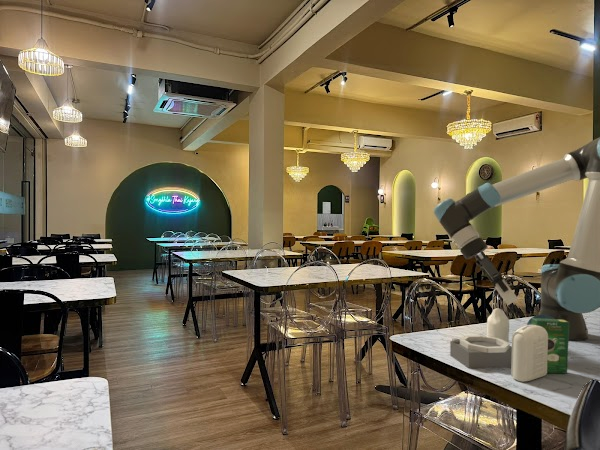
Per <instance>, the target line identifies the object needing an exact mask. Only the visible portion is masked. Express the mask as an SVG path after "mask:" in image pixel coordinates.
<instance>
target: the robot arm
mask: <svg viewBox="0 0 600 450" xmlns="http://www.w3.org/2000/svg"><path fill="white" fill-rule="evenodd" d="M585 179H588V184H587V187H586V191H585V194H584V199H583V202H582V205H581V208H580V211H579V215H578V219H577V223H576V227H575V230H574V234H573V235H572V236H573V237H572V241H571V244H570V248H569V252H568V255H567V257H566V258H565V259H562V260H561V261H560V262H559V264H558V263H556V264H554V263H553V264H551V263H547V264H544V265H542V266H541V272H540V310H539V312H538V315H548V316H551V317H552V318H554V319H562V320H566V321H568V322H569V341H583V340H587V339H588V338H589V330H588V328H587V324H586V321H585V318H584V314H590V313H592V312H594V311H597V310H598V309H599V308H600V136H599V137H598V138H595V139H593V140H592V141H590V142H588V143H586V144H584V145H582V146H581V147H579V148H577V149H575V150H572V151H570V152H568V153H565V154H564V156H563V158H560V159H558V160H555V161H552V162H550V163H547V164H544V165H541V166H538V167H536V168H533V169H531V170H528V171H525V172H523V173H520V174H518V175H515V176H511V177H509V178H506V179H504V180H501V181H499V182H496V183H493V184H491V183H490V182H486V183H483V184H482V185H479V186H478V187H477V188H475V189H474V190H471V192H468V193H467V194H465V196H463V197H461V198H460V199H459V200H457V201H456V200H454V199H453V198H446V199H445V200H443V201H441V202H439V203H438V204H437V205H436V206H435V207H434V209H433V214H434V216H435V217H436V219H437V220H438V223H440V225H441V226H442V228H443V229H444V231H445V232H446V233H447V234H448V236H449V237H450V238H451V240H452V241H451V243H452V245H454V244H455V245H456V247H457V248H458V249H460V250H459V251H460V253H461V254H462V255H463V257H464V258H465V260H470V259H473V258H475V260H476V261H475V265H476V266H477V267H478V268H479V269H480V270H481V271H482V273H484V274H485V276H486V277H487V278H488V280H489V281H490V282H491V284H492V286H493V287H494V288H495V291H497V293H498V294H499V295H500V297H501V298H502V300H504V302H505V304H506V305H507V306H509V305H511V304H512V303H515V302H516V301H518V300H519V297H518V296H517V295H516V293H514V291H513V289H511V287H510V286H509V284H508V282H507V281H506V280H505V279H504V278H503V275H502V274H501V273H500V272H499V271H498V269H497V268H496V266H495V265H494V263H493V262H492V261H491V258H490V257H489V255H488V254H485V251H486V250H487V248H488V245H487V244H486V242H485V240H484V239H483V237H480V234H479V232H478V231H477V229H476V228H475V227H474V226H473V224H472V223H471V221H472V220H474V219H476V218H477V217H479V216H480V215H482V214H483V213H485V212H487V211H488V210H490V209H493V208H496V207H499V206H502V205H504V204H507V203H510V202H513V201H515V200H519V199H521V198H524V197H526V196H530V195H532V194H536V193H538V192H542V191H543V190H547V189H550V188H552V187H555V186H559V185H561V184H565V183H567V182H569V181H575V182H578V181H579V182H580V181H582V180H585Z"/></svg>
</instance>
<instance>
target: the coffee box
mask: <svg viewBox="0 0 600 450" xmlns="http://www.w3.org/2000/svg"><path fill="white" fill-rule="evenodd" d="M531 318H532V317H531ZM532 325H537V326H541V327H543V328H545V330H546V331H547V333H548V357H547V374H548V373H549V374H557V375H558V374H565V375H567V374H568V363H569V362H568V360H569V358H568V357H569V341H570V340H569V322H568V321H566V320H562V319H540V318H532Z"/></svg>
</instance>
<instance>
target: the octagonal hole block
mask: <svg viewBox="0 0 600 450" xmlns="http://www.w3.org/2000/svg"><path fill="white" fill-rule="evenodd" d="M449 347H450V349H449V350H450V352H449V353H450V357H452V358H453V359H454V360H456V361H458V362H459V363H460V364H462V365H463V366H465V367H466V368H468V369H483V368H486V369H487V368H489V369H490V368H511V361H512V345H511V344H510V342H509V343H508V342H506V341H504V340H502V339H499V338H494V337H488V336H487V335H479V334H478V335H465V336H464V335H463V337H461V338H456V337H455V338H451V341H450V345H449Z"/></svg>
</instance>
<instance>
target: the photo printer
mask: <svg viewBox="0 0 600 450" xmlns="http://www.w3.org/2000/svg"><path fill="white" fill-rule="evenodd" d="M511 347H512V361H511V367H510V368H511V370H510V373H511V374H510V375H511V377H512V378H513V379H514V380H516V381H518V382H521V383H522V382H523V383H524V382H530V381H533V380H535V379H536V380H537V379H538V378H542V377H546V376H547V375H548V373H547V357H548V333H547V331H546V330H545V328H543V327H541V326H537V325H527V324H526V325H524V326H522V327H520V328H518V329H517V330H515V331H514V332H513V334H512V337H511Z"/></svg>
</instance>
